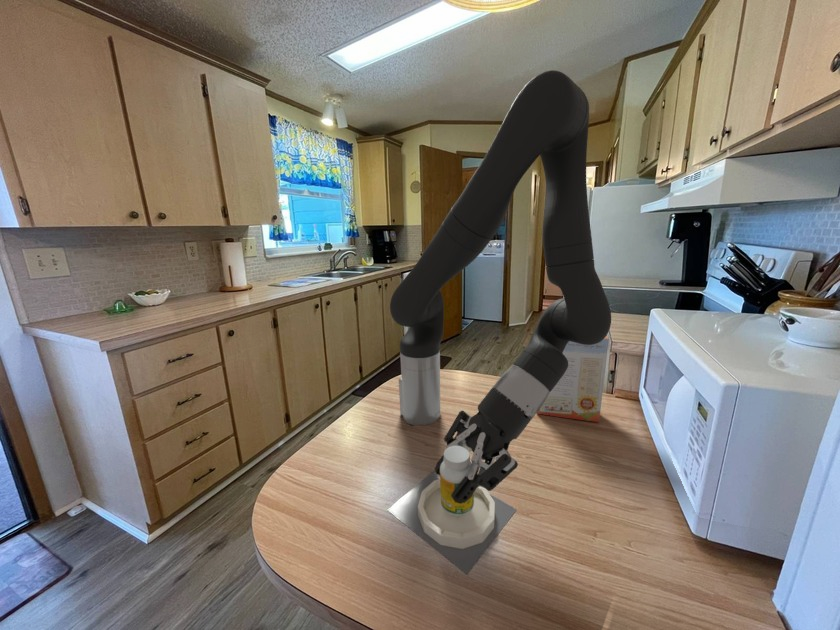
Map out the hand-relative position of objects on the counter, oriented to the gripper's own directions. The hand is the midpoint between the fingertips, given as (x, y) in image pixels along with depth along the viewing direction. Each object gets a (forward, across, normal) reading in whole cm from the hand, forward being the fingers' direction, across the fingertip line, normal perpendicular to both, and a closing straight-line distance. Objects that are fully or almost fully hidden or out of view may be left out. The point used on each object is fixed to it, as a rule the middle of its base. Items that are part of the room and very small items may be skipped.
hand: (447, 486), depth 53 cm
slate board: (+4, -1, +6) cm, 7 cm away
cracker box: (-24, -16, +34) cm, 44 cm away
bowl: (+3, 0, +5) cm, 6 cm away
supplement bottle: (+2, 0, +4) cm, 5 cm away
